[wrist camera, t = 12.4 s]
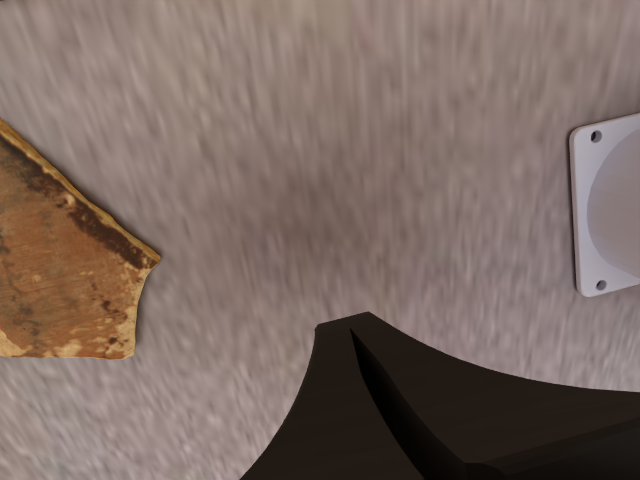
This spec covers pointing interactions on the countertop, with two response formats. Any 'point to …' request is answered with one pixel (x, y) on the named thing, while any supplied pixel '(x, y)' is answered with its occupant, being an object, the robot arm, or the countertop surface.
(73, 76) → the countertop surface
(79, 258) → the shard
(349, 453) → the robot arm
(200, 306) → the countertop surface
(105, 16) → the countertop surface
